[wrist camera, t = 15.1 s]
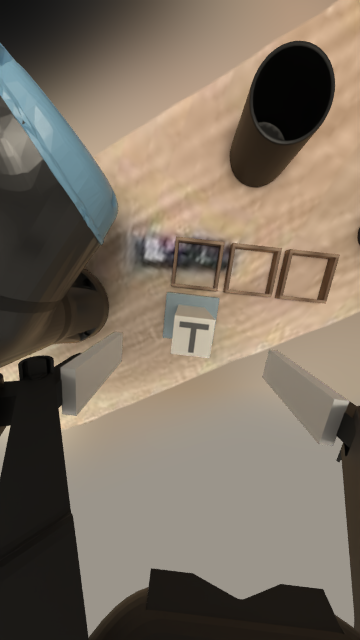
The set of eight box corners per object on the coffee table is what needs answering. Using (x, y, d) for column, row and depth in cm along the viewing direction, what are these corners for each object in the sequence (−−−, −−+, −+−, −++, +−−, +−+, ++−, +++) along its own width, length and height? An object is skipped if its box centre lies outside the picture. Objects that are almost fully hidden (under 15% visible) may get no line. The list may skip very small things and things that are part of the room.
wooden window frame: (223, 291, 32) (225, 292, 31) (230, 245, 31) (233, 242, 29) (267, 296, 32) (271, 297, 31) (277, 250, 30) (282, 248, 29)
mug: (308, 167, 28) (366, 111, 19) (238, 197, 29) (262, 158, 20) (295, 102, 26) (352, 8, 17) (222, 136, 27) (239, 65, 18)
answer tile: (163, 336, 34) (162, 337, 33) (167, 292, 33) (166, 292, 32) (211, 341, 34) (212, 343, 33) (218, 297, 33) (219, 298, 32)
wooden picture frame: (172, 286, 32) (171, 286, 31) (176, 239, 31) (176, 236, 29) (215, 290, 32) (217, 291, 31) (222, 244, 31) (224, 242, 29)
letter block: (175, 330, 33) (170, 354, 21) (178, 304, 32) (174, 315, 20) (201, 332, 33) (209, 359, 21) (204, 307, 32) (215, 320, 20)
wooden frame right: (275, 297, 32) (279, 298, 31) (285, 251, 30) (290, 249, 29) (319, 302, 32) (325, 303, 31) (332, 256, 30) (339, 254, 29)
